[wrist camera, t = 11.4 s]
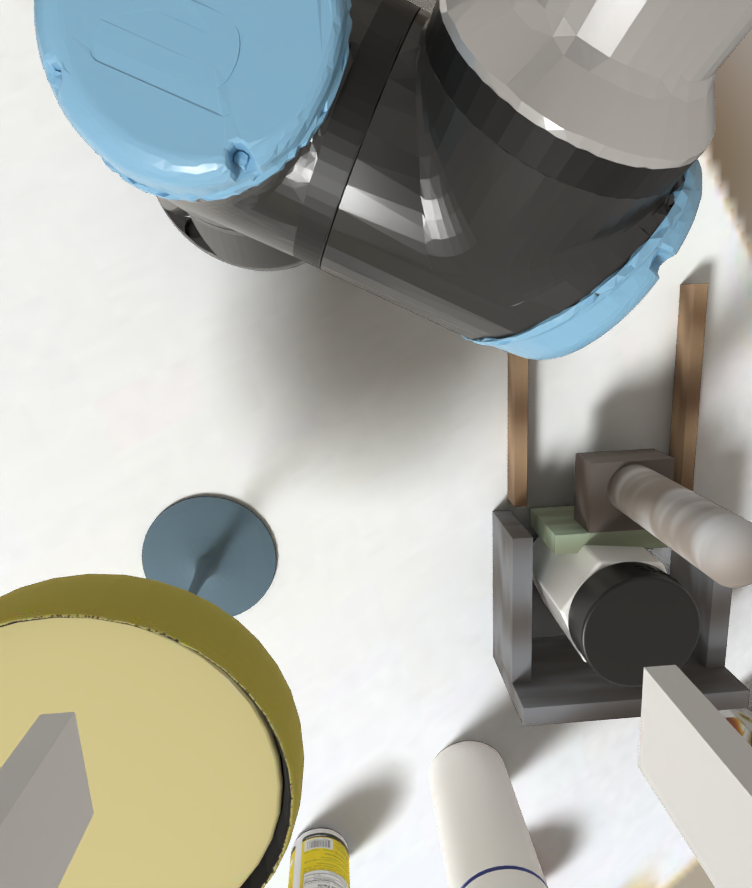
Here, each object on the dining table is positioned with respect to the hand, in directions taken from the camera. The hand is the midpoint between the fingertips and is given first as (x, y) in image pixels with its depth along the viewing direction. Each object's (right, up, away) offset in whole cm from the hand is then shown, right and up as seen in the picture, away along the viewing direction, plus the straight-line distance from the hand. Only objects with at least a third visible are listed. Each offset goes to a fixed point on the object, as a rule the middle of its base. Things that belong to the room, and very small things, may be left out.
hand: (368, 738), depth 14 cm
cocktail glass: (-14, -3, +36) cm, 38 cm away
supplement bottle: (-5, -31, +43) cm, 53 cm away
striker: (+18, +4, +35) cm, 40 cm away
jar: (+17, -3, +38) cm, 41 cm away
